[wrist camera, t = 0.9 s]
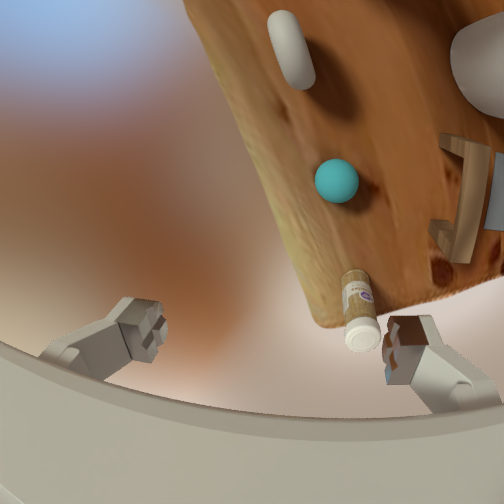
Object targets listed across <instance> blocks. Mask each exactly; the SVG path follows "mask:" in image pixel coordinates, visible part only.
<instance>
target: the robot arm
mask: <svg viewBox="0 0 504 504" xmlns="http://www.w3.org/2000/svg"><path fill="white" fill-rule="evenodd" d="M163 311H164V310H163V307H162V303H160V302H159V301H155V300H147V299H141V298H132V297H123V299H121V301H120V302H119V303H118V304H117V305H116V306H115V307H114V308H113V310H112V311H111V312H110V313H109V314H108V315H107V316H106V318H105V319H104V320H102V319H101V320H98V321H96V322H93V323H91V324H89V325H87V326H84V327H82V328H80V329H78V330H75V331H73V332H71V333H69V334H67V335H64V336H62V337H60V338H57V339H55V340H53V341H52V342H51V343H50V345H48V347H47V348H46V349H45V350H44V351H43V352H42V353H41V355H40V356H39V357H35V356H33V355H30V354H28V353H26V352H23V351H21V350H19V349H16V348H14V347H12V346H10V345H8V344H6V343H4V342H2V341H0V504H504V403H502V401H501V399H500V396H499V394H498V391H497V389H496V386H495V384H494V381H493V379H492V378H491V377H489V376H488V375H487V374H485V373H484V372H483V371H482V370H480V369H479V368H478V367H476V366H475V365H474V364H472V363H471V362H470V361H468V360H467V359H466V358H464V357H463V356H462V355H461V354H459V353H458V352H457V351H455V350H454V349H452V348H451V347H450V346H448V345H444V344H443V342H442V339H441V337H440V334H439V332H438V330H437V327H436V325H435V323H434V320H433V318H432V316H430V315H417V316H390V318H389V320H388V323H387V327H388V331H389V332H388V333H386V334H385V335H384V339H383V345H382V357H383V361H384V362H385V363H386V364H387V365H386V368H385V375H386V381H387V385H408V384H409V385H410V387H411V388H412V389H413V390H414V391H415V393H416V394H417V395H418V396H419V397H420V398H421V400H422V401H423V402H424V403H425V404H426V405H427V407H428V408H429V409H430V410H431V411H432V413H433V414H429V415H419V416H407V417H390V418H315V417H297V416H284V415H273V414H263V413H254V412H246V411H238V410H230V409H224V408H218V407H212V406H206V405H200V404H195V403H189V402H184V401H179V400H174V399H170V398H166V397H161V396H156V395H152V394H149V393H144V392H140V391H137V390H133V389H129V388H125V387H122V386H119V385H115V384H112V383H108V382H105V381H103V380H104V379H106V378H108V377H109V376H111V375H112V374H114V373H115V372H116V371H118V370H120V369H121V368H122V367H124V366H125V365H127V364H128V363H130V362H131V361H132V360H135V361H140V362H146V363H152V361H153V360H154V358H155V356H156V355H157V353H158V349H157V347H158V346H160V345H162V344H163V343H164V341H165V339H166V336H167V331H168V329H167V322H166V319H165V318H163V316H162V315H161V314H162V313H163Z"/></svg>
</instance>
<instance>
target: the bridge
mask: <svg viewBox="0 0 504 504" xmlns="http://www.w3.org/2000/svg"><path fill="white" fill-rule="evenodd" d="M439 147H441V148H443V149H445V150H447V151H450V152H452V153H454V154H456V155H458V156H461V157H463V158H464V164H463V173H462V181H461V188H460V195H459V201H458V207H457V213H456V218H455V224H454V226H453V225H452V224H451V223H450V222H449V221H448V220H436V219H430V225H429V231H428V232H429V233H430V235H431V236H432V238H433V239H434V240H435V242H436V243H437V244H438V246H439V247H440V249H441V250H442V251H443V253H444V254H445V256H446V257H447V259H448V260H449V262H450V263H470V260H471V256H472V253H473V249H474V245H475V241H476V237H477V232H478V228H479V223H480V218H481V213H482V208H483V203H484V197H485V191H486V184H487V177H488V170H489V161H490V152H491V147H490V146H487V145H484V144H482V143H479V142H476V141H473V140H470V139H467V138H464V137H461V136H458V135H452V134H446V133H440V141H439Z"/></svg>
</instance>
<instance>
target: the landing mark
mask: <svg viewBox="0 0 504 504" xmlns="http://www.w3.org/2000/svg"><path fill="white" fill-rule="evenodd" d="M484 229H489V230H499V231H504V154H503V153H498V152H496V155H495V164H494V172H493V180H492V186H491V193H490V199H489V204H488V209H487V214H486V219H485V224H484Z"/></svg>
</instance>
